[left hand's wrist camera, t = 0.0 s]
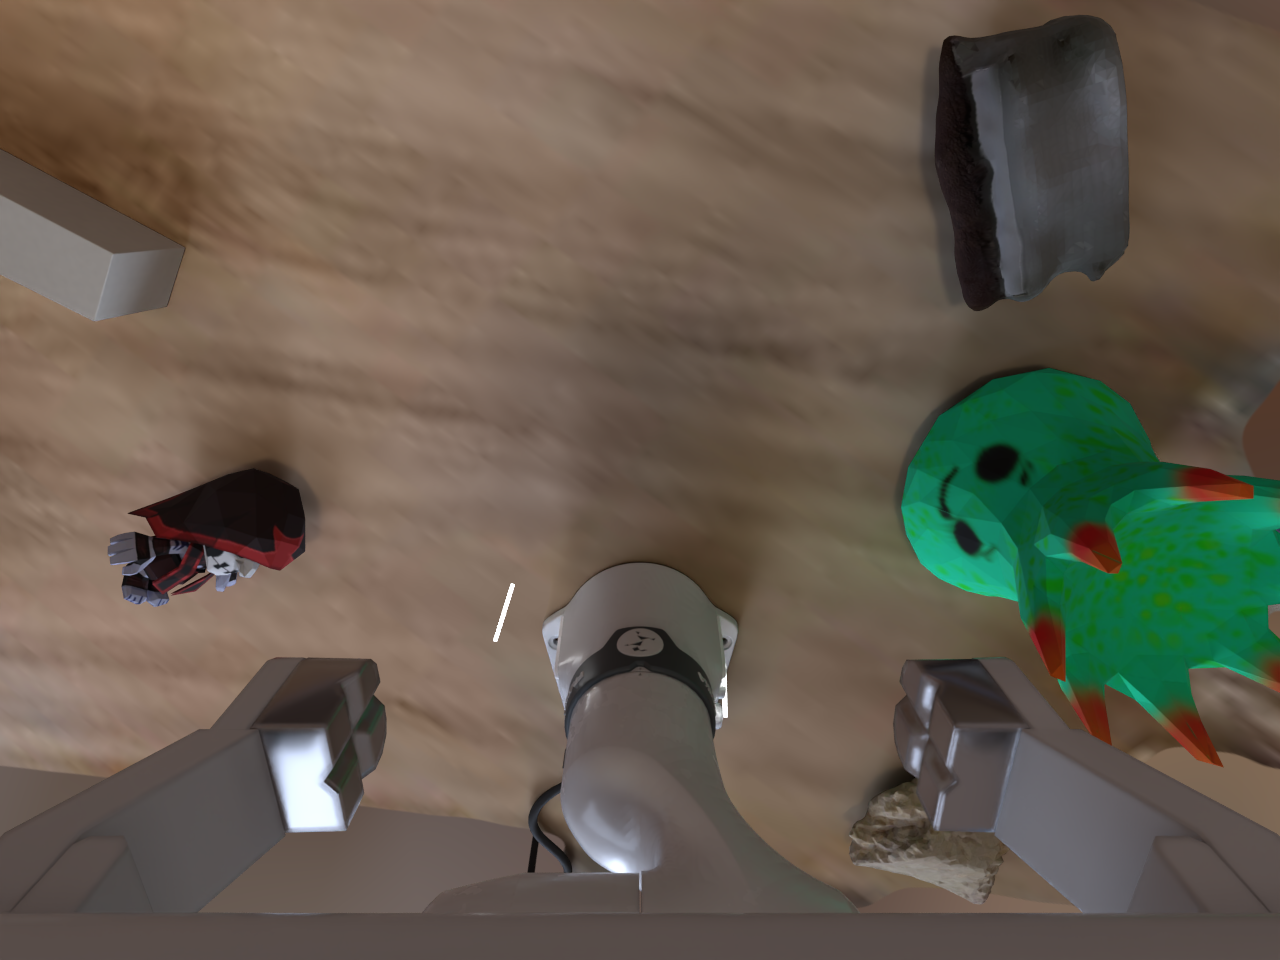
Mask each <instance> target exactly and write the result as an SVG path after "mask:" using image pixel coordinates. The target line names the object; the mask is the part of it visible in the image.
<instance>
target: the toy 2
mask: <svg viewBox="0 0 1280 960" xmlns="http://www.w3.org/2000/svg"><path fill="white" fill-rule="evenodd" d="M901 509H902V514H903V519H904V524H905V530H906V535H907V537H908V539H909V541H910V543H911V545H912V547H913V549H914V551H915V553H916V555H917V557H918V558H919V560H920V562H921V564H922V565H923V566H925V567H926V568H927V569H928V570H929V571H931V572H932V573H933V574H934V575H935V576H937V577H938V578H939V579H941V580H944V581H946V582H948V583H950V584H952V585H955V586H957V587H959V588H961V589H963V590H966V591H969V592H973V593H978V594H982V595H986V596H1000V597H1003V598H1007V599H1011V600H1014V601H1018V603H1019V610H1020V616H1021V619H1022V621H1023V623H1024V625H1025V627H1026V629H1027V631H1028V633H1029V635H1030V637H1031V639H1032V640H1033V642H1034V644H1035V646H1036V648H1037V650H1038V652H1039V654H1040V656H1041V658H1042V660H1043V662H1044V664H1045V666H1046V668H1047V670H1048V672H1049V674H1050V676H1052V677H1055V678H1057V679H1058V682H1059V684H1060V687H1061V689H1062V690H1063V692H1064V694H1065V695H1066V697H1067V698H1068V700H1069V702H1070V703H1071V705H1072V706H1073V708H1074V709H1075V711H1076V713H1077V714H1078V716H1079V717H1080V719H1081V720H1082V722H1083V723H1084V725H1085V726H1086V728H1087V730H1088V731H1089V733H1090V734H1091V735H1092V736H1094V737H1096V738H1098V739H1100V740H1102V741H1104V742H1106V743H1107V744H1109V745H1111V746H1112V744H1111V737H1110V731H1109V725H1108V719H1107V713H1106V707H1105V701H1104V685H1105V684H1106V685H1108V686H1110V687H1112V688H1114V689H1116V690H1118V691H1120V692H1121V693H1123V694H1125V695H1127V696H1129V697H1131V698H1133V699H1135V700H1136V701H1137V702H1138V703H1139V704H1140V705H1141V706H1142V707H1143V708H1144V709H1146V710H1147V711H1148V712H1149V713H1150V714H1151V715H1152V716H1153V717H1154V718H1155V719H1156V720H1157V721H1158V722H1159V723H1160V724H1161V725H1162V726H1163V727H1164V728H1165V729H1166V730H1167V731H1168V732H1169V733H1170V734H1171V735H1172V736H1173V737H1174V738H1175V739H1176V740H1177V741H1178V742H1179V743H1180V744H1181V745H1182V746H1183V747H1184V748H1185V749H1186V750H1187V751H1188V752H1189V753H1190V754H1192V755H1193V756H1194V757H1195V758H1196V759H1197V760H1199V761H1203V762H1206V763H1210V764H1213V765H1217V766H1221V767H1223V765H1222V763H1221V761H1220V759H1219V757H1218V755H1217V753H1216V751H1215V749H1214V746H1213V744H1212V742H1211V740H1210V738H1209V736H1208V734H1207V732H1206V730H1205V728H1204V726H1203V724H1202V722H1201V719H1200V717H1199V714H1198V711H1197V708H1196V706H1195V703H1194V700H1193V697H1192V694H1191V687H1190V679H1189V671H1188V669H1190V668H1217V667H1227V668H1229V669H1231V670H1233V671H1235V672H1237V673H1239V674H1241V675H1244V676H1246V677H1248V678H1250V679H1252V680H1254V681H1256V682H1258V683H1261V684H1263V685H1265V686H1267V687H1269V688H1271V689H1273V690H1275V691H1278V692H1280V639H1279V638H1278V637H1277V636H1276V635H1275V634H1274V633H1273V632H1272V631H1271V630H1270V629H1269V628H1268V605H1274V604H1280V533H1278V532H1277V531H1276V529H1279V528H1280V481H1279V480H1271V479H1264V478H1257V477H1249V476H1236V475H1224V474H1222V473H1219V472H1217V471H1214V470H1211V469H1206V468H1199V467H1193V466H1186V465H1180V464H1173V463H1166V462H1160V461H1159V460H1158V458H1157V457H1156V455H1155V453H1154V451H1153V449H1152V447H1151V443H1150V440H1149V438H1148V436H1147V434H1146V432H1145V431H1144V429H1143V427H1142V425H1141V423H1140V421H1139V419H1138V417H1137V416H1136V414H1135V412H1134V410H1133V408H1132V406H1131V404H1130V403H1129V402H1127V401H1126V400H1125V399H1123V398H1122V397H1121V396H1120V395H1118V394H1117V393H1116V392H1114V391H1113V390H1112V389H1110V388H1109V387H1108V386H1106V385H1105V384H1104V383H1102V382H1101V381H1099V380H1095V379H1091V378H1087V377H1083V376H1079V375H1075V374H1071V373H1067V372H1063V371H1060V370H1056V369H1052V368H1046V369H1041V370H1036V371H1031V372H1026V373H1021V374H1017V375H1012V376H1007V377H1002V378H997V379H993V380H991V381H990V382H988V383H987V384H985V385H984V386H982V387H981V388H979V389H978V390H976V391H975V392H974V393H972V394H971V395H969V396H968V397H966V398H965V399H963V400H962V401H960V402H959V403H957V404H956V405H954V406H953V407H951V408H950V409H948V410H947V411H946V412H944V413H943V414H941V415H940V416H939V417H938V418H937V420H936V422H935V423H934V425H933V427H932V428H931V430H930V432H929V433H928V435H927V437H926V438H925V440H924V442H923V443H922V445H921V447H920V448H919V450H918V452H917V453H916V455H915V457H914V458H913V460H912V462H911V463H910V465H909V467H908V471H907V477H906V483H905V488H904V494H903V500H902V505H901Z"/></svg>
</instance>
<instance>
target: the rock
mask: <svg viewBox="0 0 1280 960" xmlns="http://www.w3.org/2000/svg"><path fill="white" fill-rule="evenodd" d="M935 165H936V170H937V174H938V178H939V182H940V186H941V189H942V192H943V194H944V197H945V199H946V202H947V204H948V207H949V210H950V214H951V219H952V224H953V229H954V236H955V261H956V267H957V273H958V277H959V281H960V284H961V288H962V293H963V297H964V300H965V302H966V304H967V305H968V306H969V307H970V308H971V309H973V310H974V311H980V310H984V309H986V308H988V307H990V306H991V305H992V304H994V303H995V302H997V301H998V300H1001V299H1012V300H1015V301H1020V302H1024V301H1028V300H1031V299H1033V298H1034V297H1036V296H1037V295H1039V294H1040V293H1041V292H1042V291H1043V289H1044V288H1045V287H1046V286H1047V285H1048V284H1049V283H1050V281H1051V280H1052V279H1053V278H1054V277H1056V276H1057V275H1059V274H1061V273H1064V272H1070V271H1078V272H1082V273H1084V274H1085V275H1087V276H1088V278H1089V279H1090V280H1091V281H1096V280H1099V279H1100V278H1101V277H1102V275H1103V274H1104V272H1105V271H1106V270H1107V269H1108V268H1109V267H1111V266H1112V265H1113V264H1114V263H1115V262H1116V261H1117V260H1119V258H1120V257H1121V256H1122V255H1123V254H1124V250H1125V249H1126V248H1127V246H1128V240H1129V202H1128V191H1129V168H1128V142H1127V101H1126V90H1125V81H1124V74H1123V66H1122V60H1121V56H1120V51H1119V47H1118V43H1117V40H1116V34H1115V32H1114V31H1113V29H1112V27H1111V26H1110V25H1109V24H1108V23H1106V22H1105V21H1104V20H1102V19H1101V18H1098V17H1094V16H1089V15H1075V16H1064V17H1060V18H1057V19H1054V20H1051V21H1049V22H1047V23H1046V24H1044V25H1043V26H1039V27H1034V28H1028V29H1022V30H1015V31H1009V32H1004V33H1000V34H996V35H991V36H986V37H980V38H966V37H961V36H949V37H947V38H946V39H945V40H944V42H943V45H942V52H941V56H940V62H939V100H938V106H937V114H936V140H935Z"/></svg>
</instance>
